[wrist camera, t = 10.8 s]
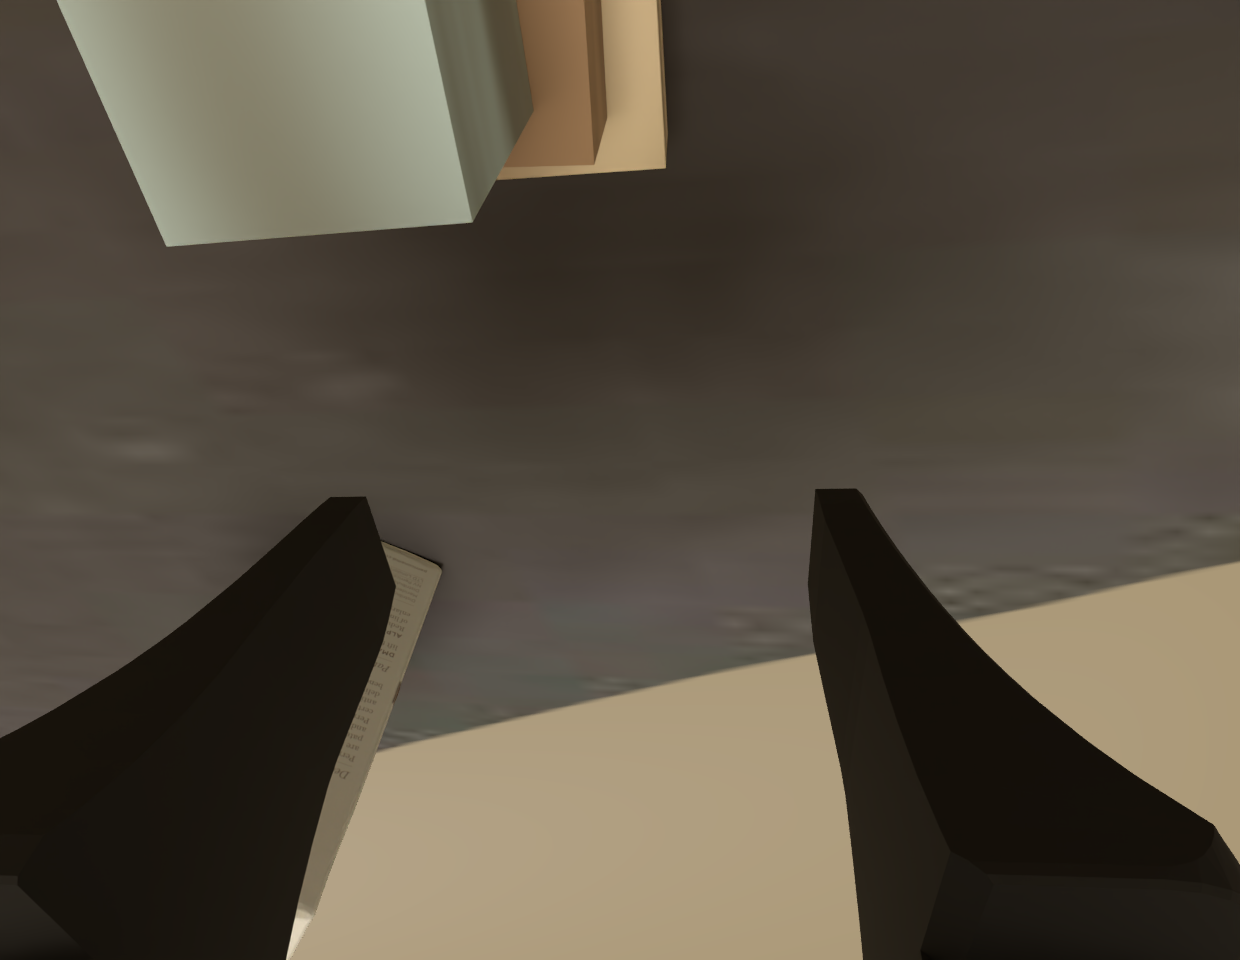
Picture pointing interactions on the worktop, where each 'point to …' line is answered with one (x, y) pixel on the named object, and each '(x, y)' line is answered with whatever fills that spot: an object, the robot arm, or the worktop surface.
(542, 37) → the walnut block
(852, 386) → the worktop surface
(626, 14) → the birch slab
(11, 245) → the worktop surface
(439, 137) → the greenish gray cube
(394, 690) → the skincare box
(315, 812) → the robot arm
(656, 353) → the worktop surface
